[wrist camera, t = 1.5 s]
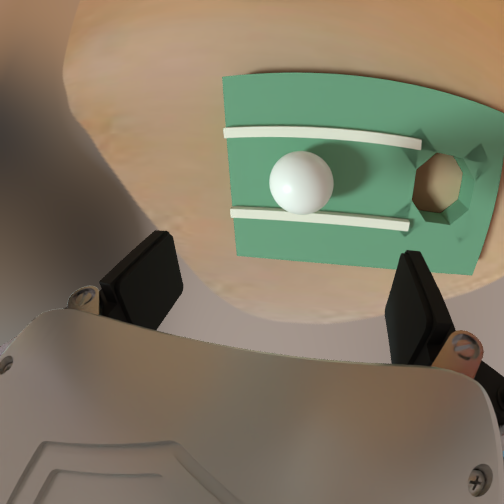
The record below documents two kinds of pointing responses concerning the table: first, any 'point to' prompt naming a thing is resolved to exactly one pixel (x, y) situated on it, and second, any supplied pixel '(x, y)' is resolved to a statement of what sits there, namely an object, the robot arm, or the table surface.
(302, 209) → the ball
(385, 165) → the putting mat
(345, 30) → the table surface
